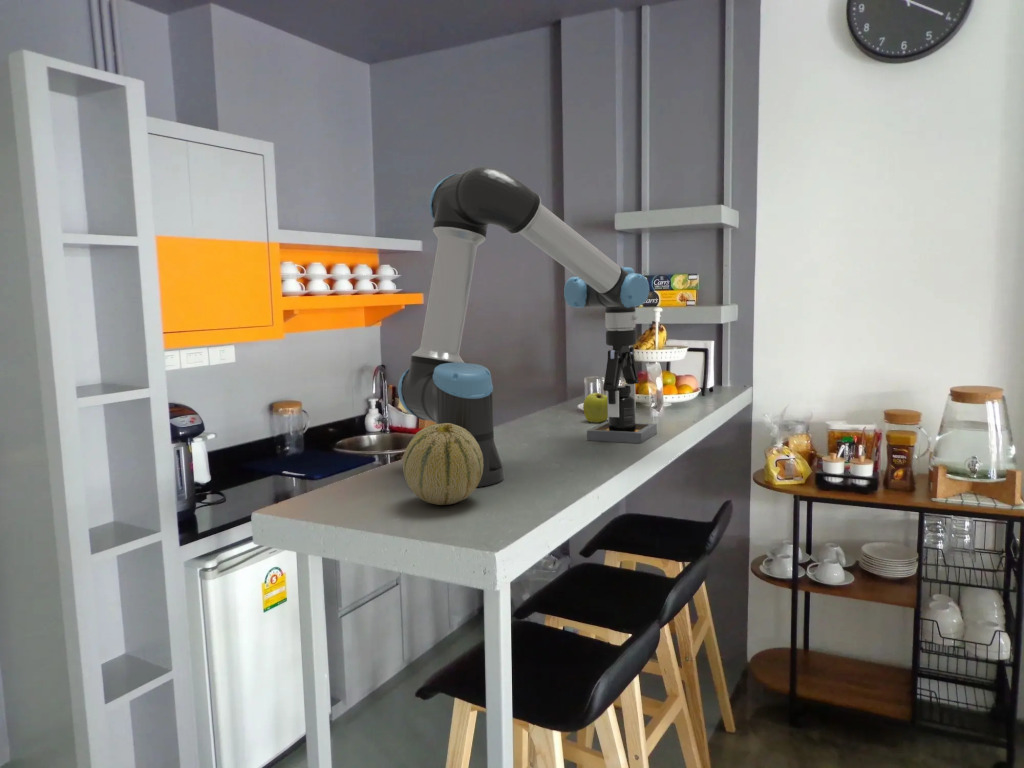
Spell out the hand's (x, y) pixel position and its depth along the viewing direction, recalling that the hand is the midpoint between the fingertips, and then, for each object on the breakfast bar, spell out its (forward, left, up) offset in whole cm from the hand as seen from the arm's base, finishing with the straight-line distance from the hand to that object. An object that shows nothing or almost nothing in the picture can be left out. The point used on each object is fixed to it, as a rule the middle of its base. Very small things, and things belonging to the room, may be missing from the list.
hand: (622, 412), depth 194 cm
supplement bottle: (0, 0, -5) cm, 5 cm away
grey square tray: (0, 0, -6) cm, 6 cm away
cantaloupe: (-53, -46, -6) cm, 70 cm away
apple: (+2, +24, -6) cm, 25 cm away
